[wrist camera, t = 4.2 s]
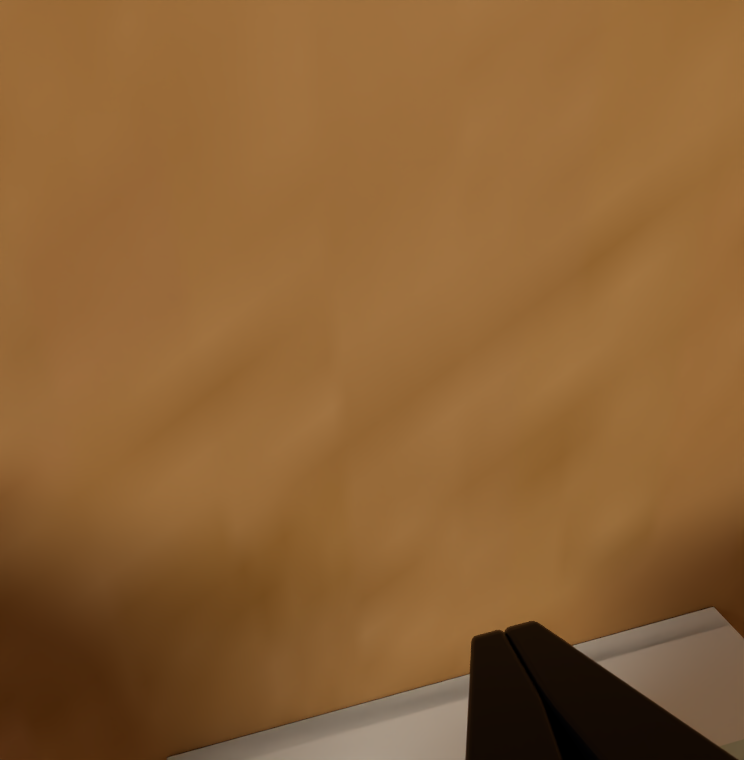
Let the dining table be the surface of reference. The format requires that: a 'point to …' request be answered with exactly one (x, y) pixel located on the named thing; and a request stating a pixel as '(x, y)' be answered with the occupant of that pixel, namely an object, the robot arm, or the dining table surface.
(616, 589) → the dining table surface
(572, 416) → the dining table surface
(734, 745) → the lid
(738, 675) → the box
